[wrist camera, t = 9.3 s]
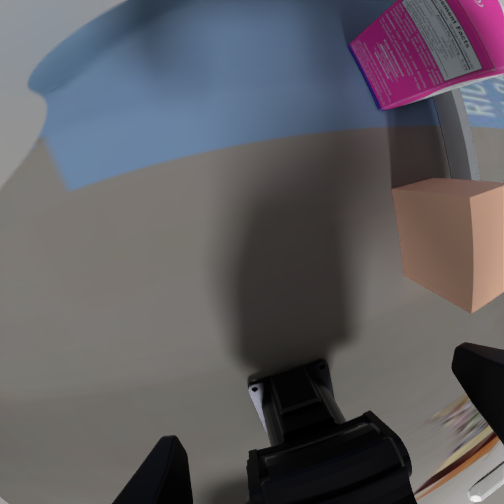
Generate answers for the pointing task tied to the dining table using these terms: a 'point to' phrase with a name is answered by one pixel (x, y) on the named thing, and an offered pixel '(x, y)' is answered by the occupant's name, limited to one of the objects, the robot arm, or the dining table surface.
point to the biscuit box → (453, 238)
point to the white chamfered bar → (487, 485)
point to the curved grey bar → (457, 135)
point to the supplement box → (430, 49)
